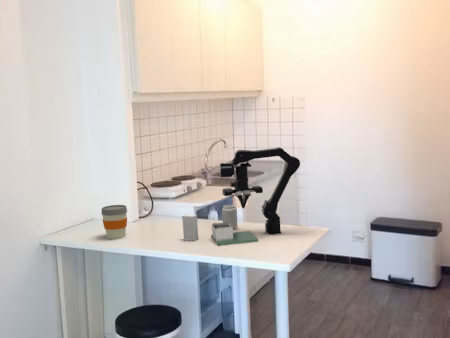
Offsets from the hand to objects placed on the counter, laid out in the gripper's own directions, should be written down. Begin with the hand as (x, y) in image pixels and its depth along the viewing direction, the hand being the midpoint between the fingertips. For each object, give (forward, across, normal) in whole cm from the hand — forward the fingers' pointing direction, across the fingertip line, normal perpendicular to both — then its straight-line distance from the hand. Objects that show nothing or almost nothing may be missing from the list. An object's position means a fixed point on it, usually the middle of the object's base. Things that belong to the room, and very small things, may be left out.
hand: (243, 208), depth 250 cm
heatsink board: (+13, +6, +6) cm, 16 cm away
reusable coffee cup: (+13, +61, -21) cm, 66 cm away
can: (+13, +4, -14) cm, 20 cm away
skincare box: (+13, +26, -1) cm, 29 cm away
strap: (+6, +13, +6) cm, 15 cm away
